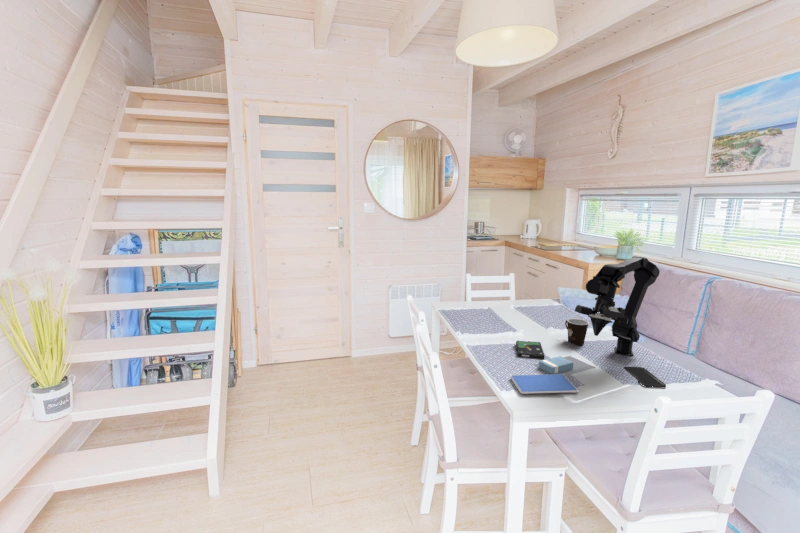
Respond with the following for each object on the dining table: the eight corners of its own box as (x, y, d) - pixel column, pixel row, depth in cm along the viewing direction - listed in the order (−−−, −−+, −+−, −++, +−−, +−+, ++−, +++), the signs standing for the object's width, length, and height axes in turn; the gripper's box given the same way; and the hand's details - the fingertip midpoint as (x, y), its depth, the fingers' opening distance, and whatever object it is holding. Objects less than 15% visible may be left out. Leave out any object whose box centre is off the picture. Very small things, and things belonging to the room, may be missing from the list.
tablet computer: (562, 376, 142) (563, 373, 142) (579, 393, 130) (579, 390, 129) (509, 378, 142) (509, 375, 141) (521, 396, 129) (521, 392, 129)
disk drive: (544, 362, 157) (539, 347, 172) (545, 355, 157) (540, 341, 171) (517, 359, 160) (515, 345, 174) (518, 353, 159) (515, 339, 173)
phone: (643, 367, 150) (667, 385, 136) (642, 369, 151) (667, 388, 136) (622, 366, 151) (644, 385, 136) (621, 369, 151) (643, 388, 136)
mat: (569, 357, 161) (569, 355, 161) (595, 368, 150) (595, 367, 150) (533, 366, 152) (533, 364, 152) (557, 379, 141) (557, 377, 141)
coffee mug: (588, 347, 171) (590, 325, 169) (567, 345, 173) (569, 324, 171) (582, 338, 182) (584, 317, 181) (562, 336, 184) (564, 316, 182)
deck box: (560, 356, 154) (539, 361, 149) (573, 362, 148) (552, 367, 143) (559, 362, 154) (538, 367, 149) (572, 368, 149) (551, 374, 144)
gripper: (593, 294, 145) (582, 335, 146) (641, 305, 145) (630, 346, 146) (579, 290, 156) (569, 328, 157) (624, 301, 156) (614, 338, 157)
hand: (595, 335), depth 154 cm, fingers closed
